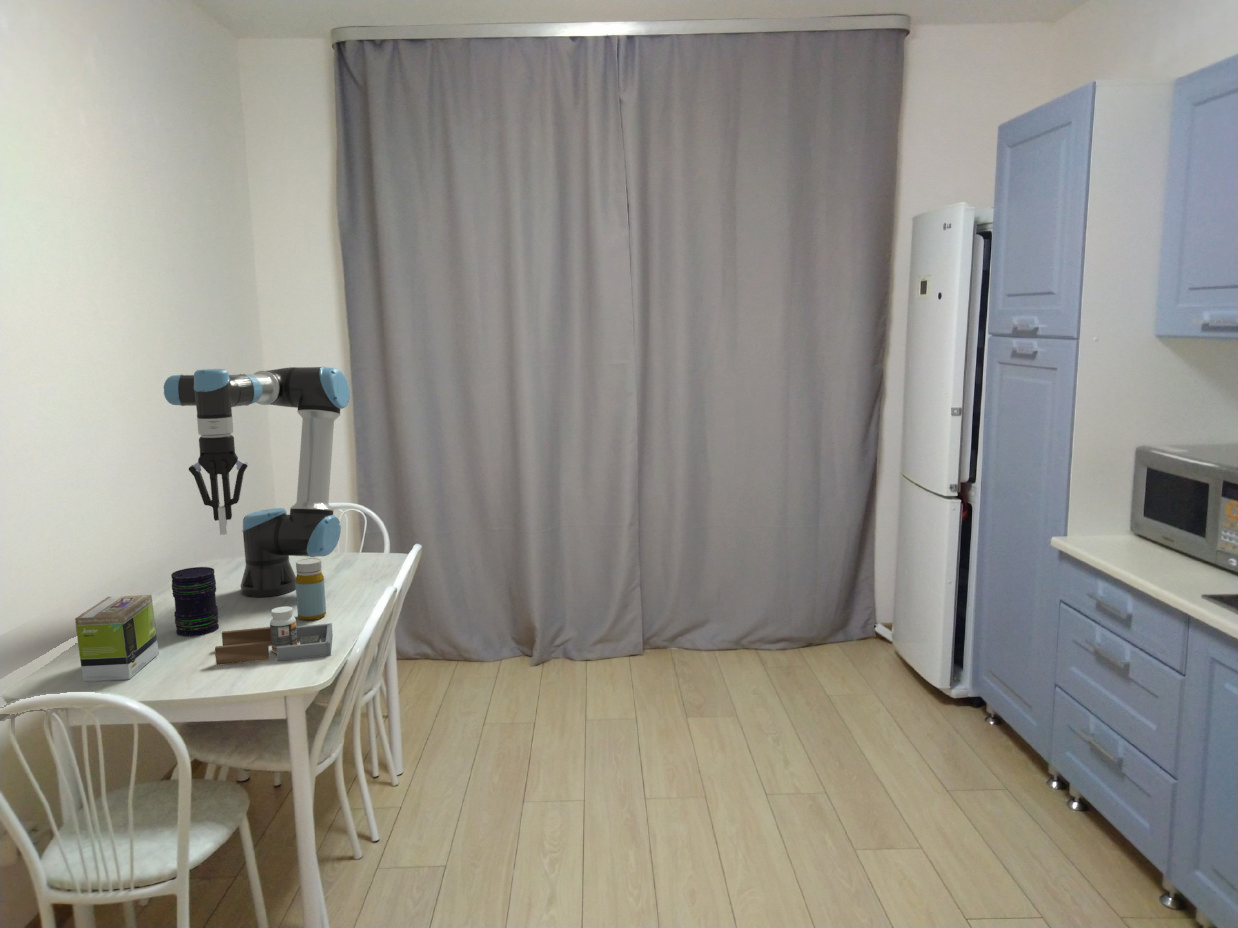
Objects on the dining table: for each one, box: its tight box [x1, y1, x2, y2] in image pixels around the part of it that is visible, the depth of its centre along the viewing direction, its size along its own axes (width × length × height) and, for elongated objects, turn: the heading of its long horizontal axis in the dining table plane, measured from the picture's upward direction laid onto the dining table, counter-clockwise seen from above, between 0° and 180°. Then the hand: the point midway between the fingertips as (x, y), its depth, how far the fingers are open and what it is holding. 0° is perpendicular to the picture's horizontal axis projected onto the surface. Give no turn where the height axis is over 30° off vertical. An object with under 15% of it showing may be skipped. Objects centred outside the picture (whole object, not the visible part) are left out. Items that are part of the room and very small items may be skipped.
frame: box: [276, 622, 334, 662], centre depth 207 cm, size 14×12×3 cm
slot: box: [214, 626, 272, 666], centre depth 203 cm, size 11×11×4 cm
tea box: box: [74, 594, 159, 683], centre depth 194 cm, size 15×10×15 cm
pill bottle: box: [269, 606, 299, 654], centre depth 204 cm, size 6×6×10 cm
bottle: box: [295, 557, 327, 621], centre depth 227 cm, size 7×7×15 cm
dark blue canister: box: [170, 566, 220, 638], centre depth 218 cm, size 10×10×15 cm
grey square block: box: [299, 635, 321, 644], centre depth 206 cm, size 4×4×2 cm
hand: (224, 533), depth 209 cm, fingers closed
